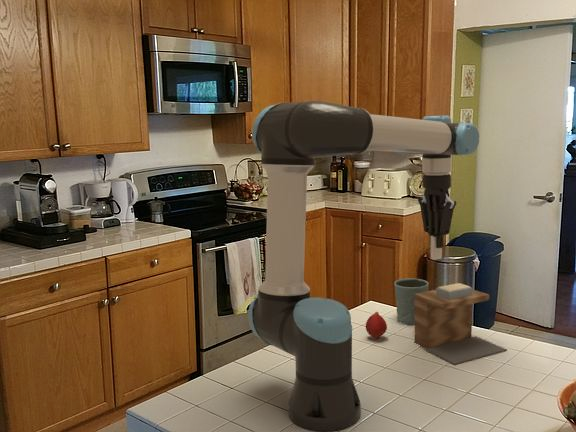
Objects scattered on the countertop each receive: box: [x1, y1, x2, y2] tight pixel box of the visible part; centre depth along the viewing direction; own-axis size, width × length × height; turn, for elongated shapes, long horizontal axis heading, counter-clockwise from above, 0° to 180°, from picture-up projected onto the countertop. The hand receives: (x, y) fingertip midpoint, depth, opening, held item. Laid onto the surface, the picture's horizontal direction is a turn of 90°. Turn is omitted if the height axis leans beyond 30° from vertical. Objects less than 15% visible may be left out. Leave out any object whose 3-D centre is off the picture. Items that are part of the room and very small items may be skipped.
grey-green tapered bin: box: [393, 277, 430, 326], centre depth 174 cm, size 10×10×12 cm
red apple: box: [365, 311, 388, 340], centre depth 160 cm, size 6×6×8 cm
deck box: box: [435, 282, 474, 300], centre depth 152 cm, size 8×5×2 cm, turn 117°
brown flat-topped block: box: [413, 289, 490, 350], centre depth 154 cm, size 16×11×14 cm
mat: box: [424, 336, 508, 366], centre depth 150 cm, size 18×11×1 cm, turn 117°
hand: (436, 258), depth 158 cm, fingers closed
